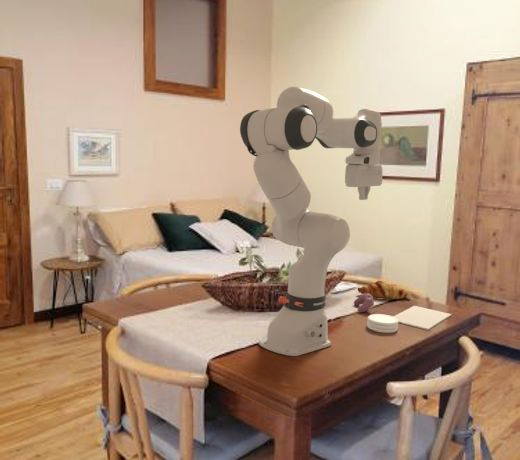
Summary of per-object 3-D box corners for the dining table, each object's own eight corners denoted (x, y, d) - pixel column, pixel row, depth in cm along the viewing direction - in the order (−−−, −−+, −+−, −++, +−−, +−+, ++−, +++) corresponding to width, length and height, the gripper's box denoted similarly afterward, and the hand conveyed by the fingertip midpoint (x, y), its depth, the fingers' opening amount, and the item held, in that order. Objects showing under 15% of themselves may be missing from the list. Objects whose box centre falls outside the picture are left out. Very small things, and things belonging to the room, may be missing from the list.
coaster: (398, 325, 173) (399, 315, 172) (396, 335, 164) (397, 325, 163) (368, 321, 176) (369, 311, 175) (365, 331, 167) (366, 320, 166)
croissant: (408, 305, 209) (408, 286, 212) (413, 300, 200) (413, 280, 202) (356, 300, 211) (356, 281, 214) (358, 295, 202) (359, 275, 205)
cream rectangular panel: (428, 330, 169) (428, 328, 169) (388, 320, 178) (388, 318, 178) (451, 315, 186) (451, 314, 186) (414, 307, 195) (414, 305, 195)
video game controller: (368, 317, 185) (377, 300, 184) (357, 311, 185) (367, 294, 184) (362, 309, 195) (372, 293, 194) (352, 303, 195) (361, 287, 194)
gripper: (372, 159, 183) (369, 197, 185) (342, 158, 168) (340, 200, 170) (388, 159, 179) (385, 199, 181) (360, 158, 164) (357, 202, 166)
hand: (363, 199), depth 175 cm, fingers closed
